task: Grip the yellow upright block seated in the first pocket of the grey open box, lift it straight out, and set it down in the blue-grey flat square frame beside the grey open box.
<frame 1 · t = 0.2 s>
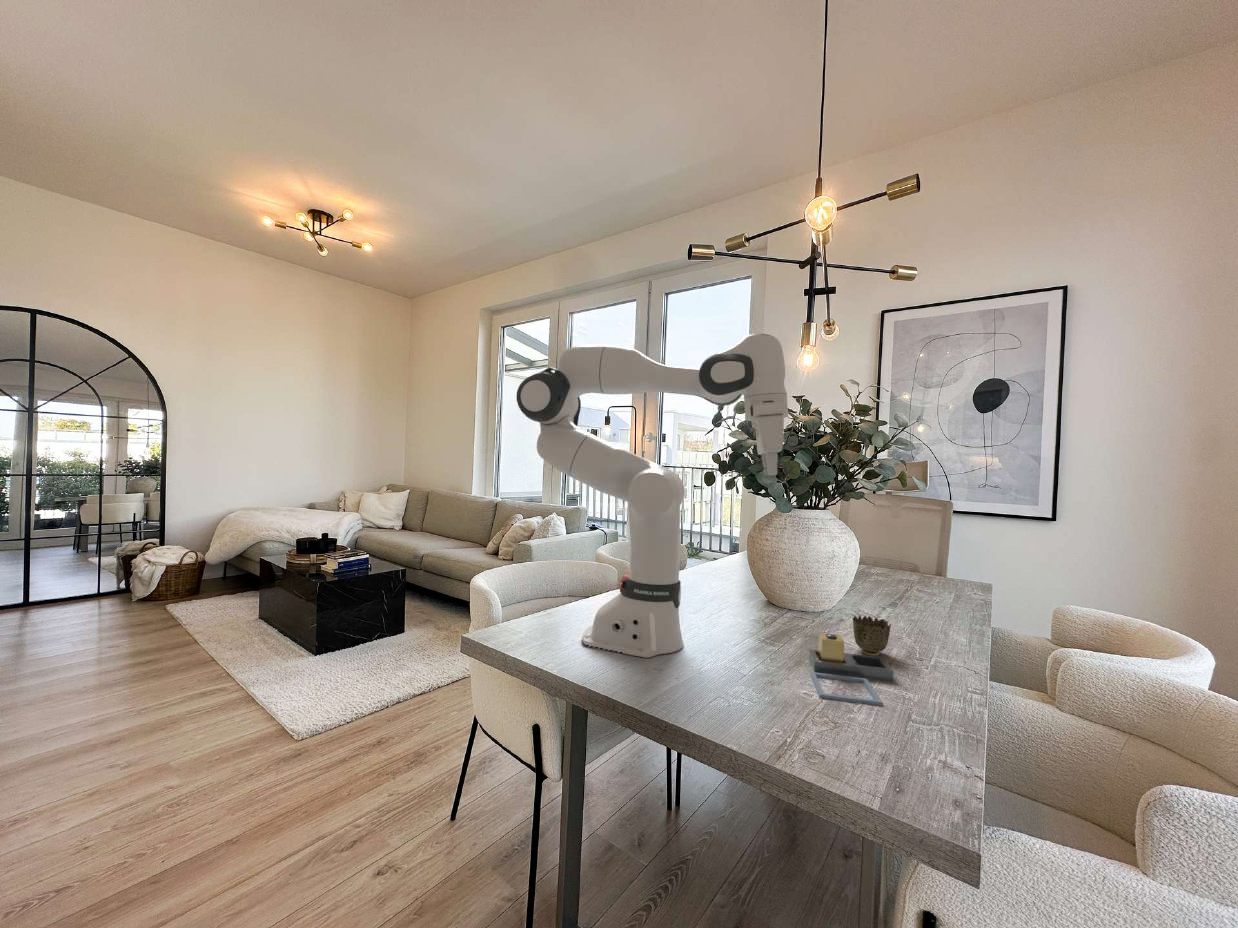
hand: (770, 475, 109), 39 cm above the table, tool pointing down, fingers open, 8 cm apart
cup: (869, 657, 111), on the table
grey open box: (848, 674, 100), on the table
blue-grey flat square frame: (843, 694, 91), on the table
yellow upright block: (829, 667, 101), point 1 cm above the table, touching grey open box
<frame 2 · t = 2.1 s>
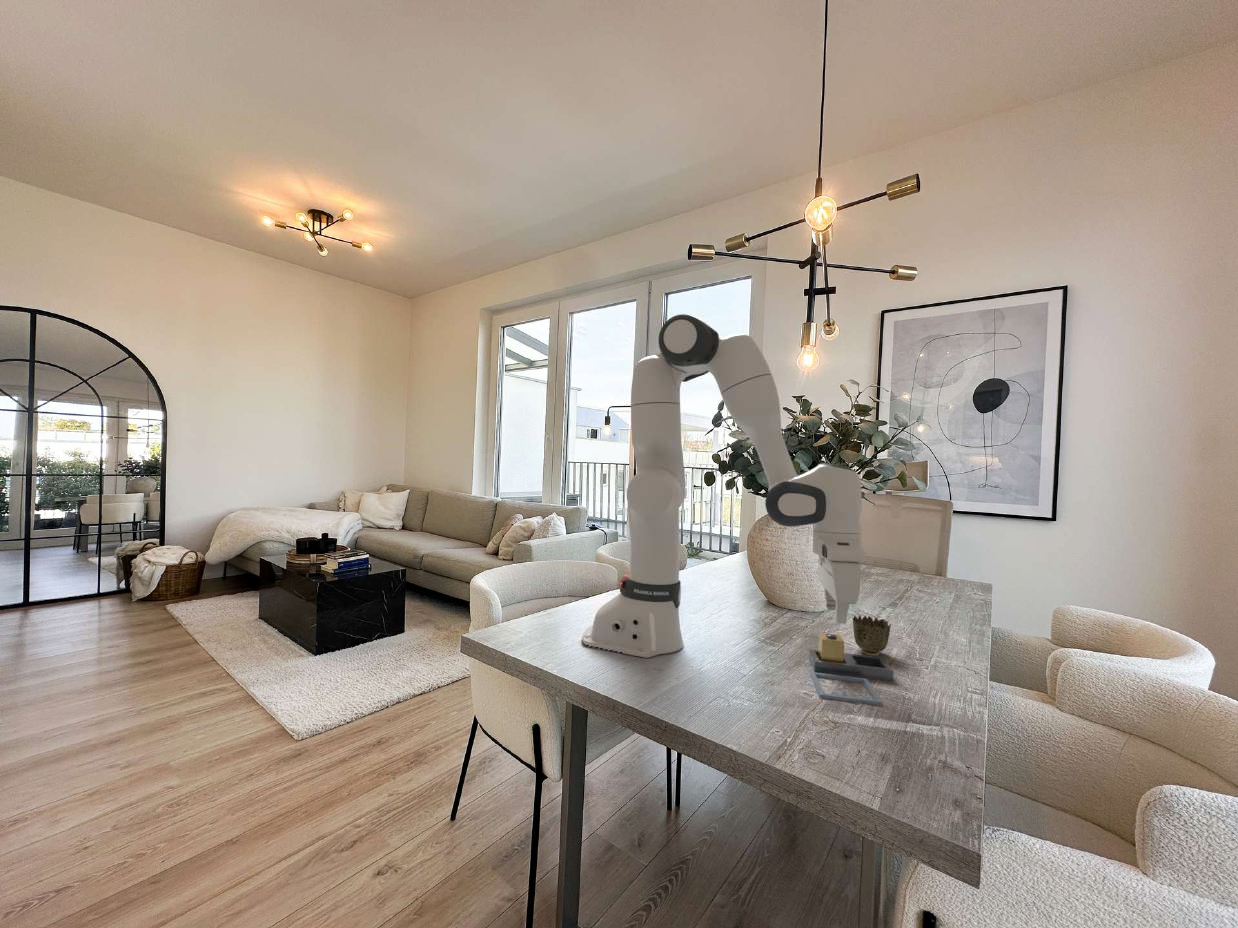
hand: (835, 615, 101), 11 cm above the table, tool pointing down, fingers open, 8 cm apart
nothing on the table moved.
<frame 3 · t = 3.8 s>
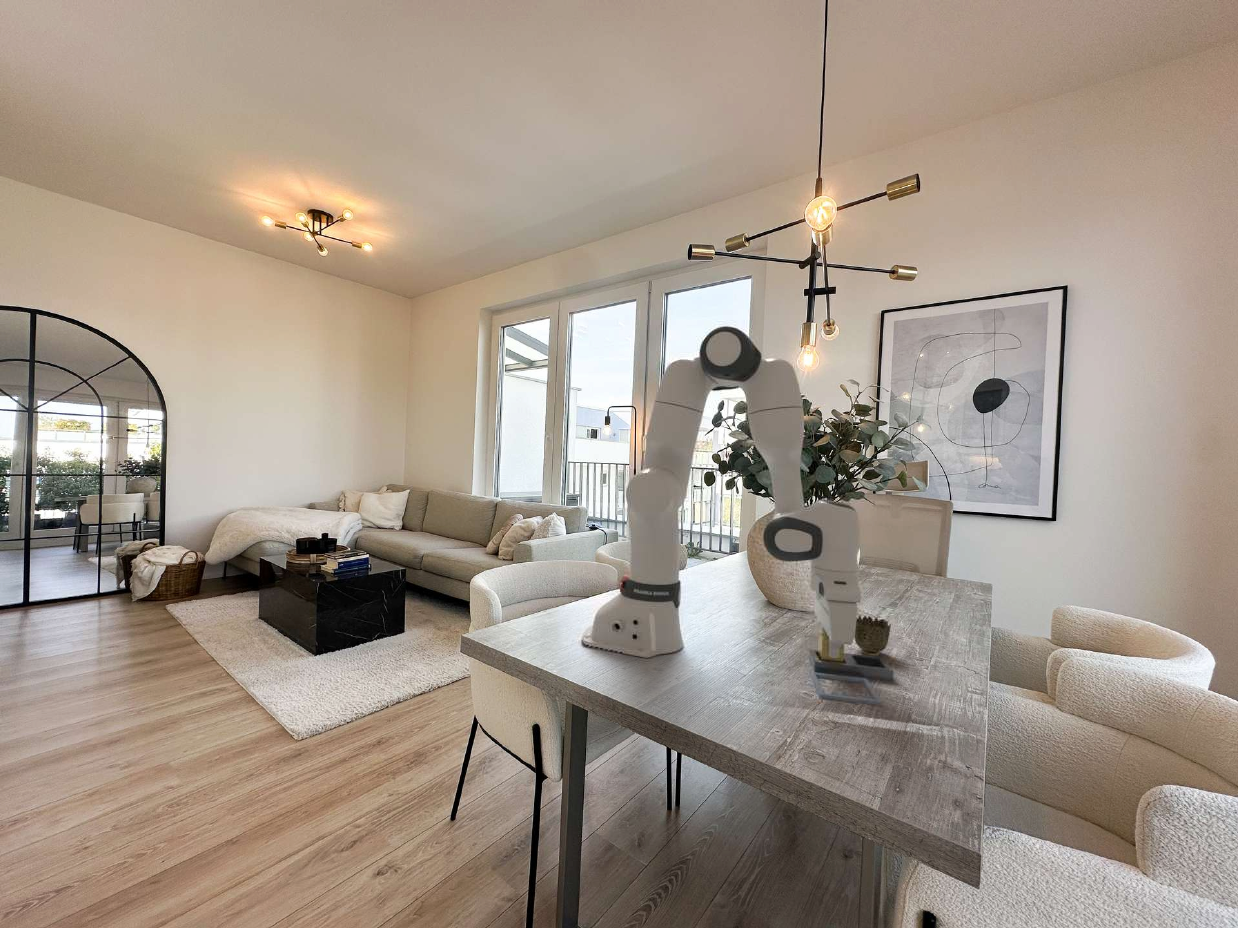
hand: (830, 651, 101), 4 cm above the table, tool pointing down, fingers closed on yellow upright block, 4 cm apart
yellow upright block: (829, 667, 101), point 1 cm above the table, touching gripper, grey open box
everything else where it was.
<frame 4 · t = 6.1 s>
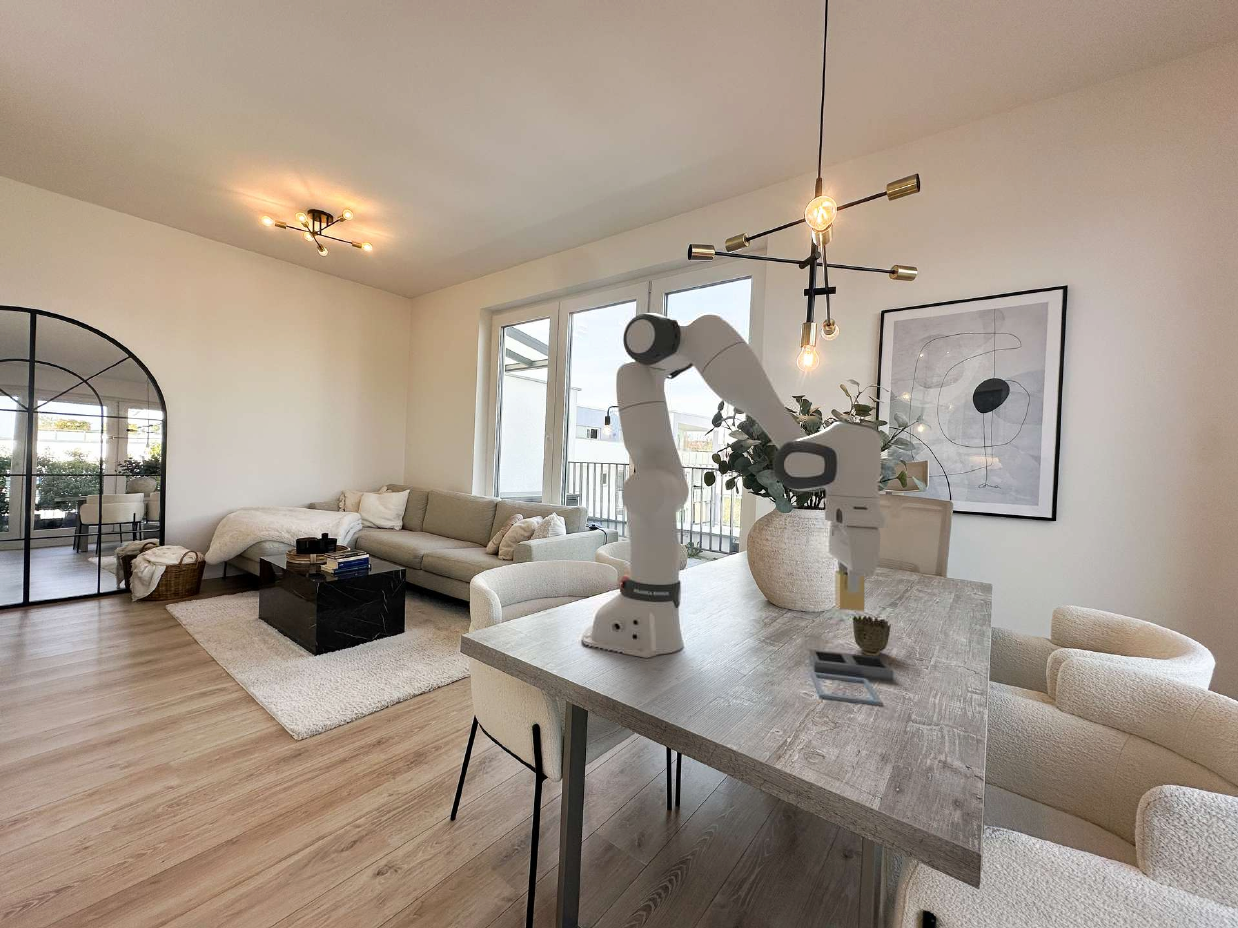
hand: (848, 589, 91), 19 cm above the table, tool pointing down, fingers closed on yellow upright block, 4 cm apart
yellow upright block: (849, 606, 91), point 16 cm above the table, touching gripper
everything else where it was.
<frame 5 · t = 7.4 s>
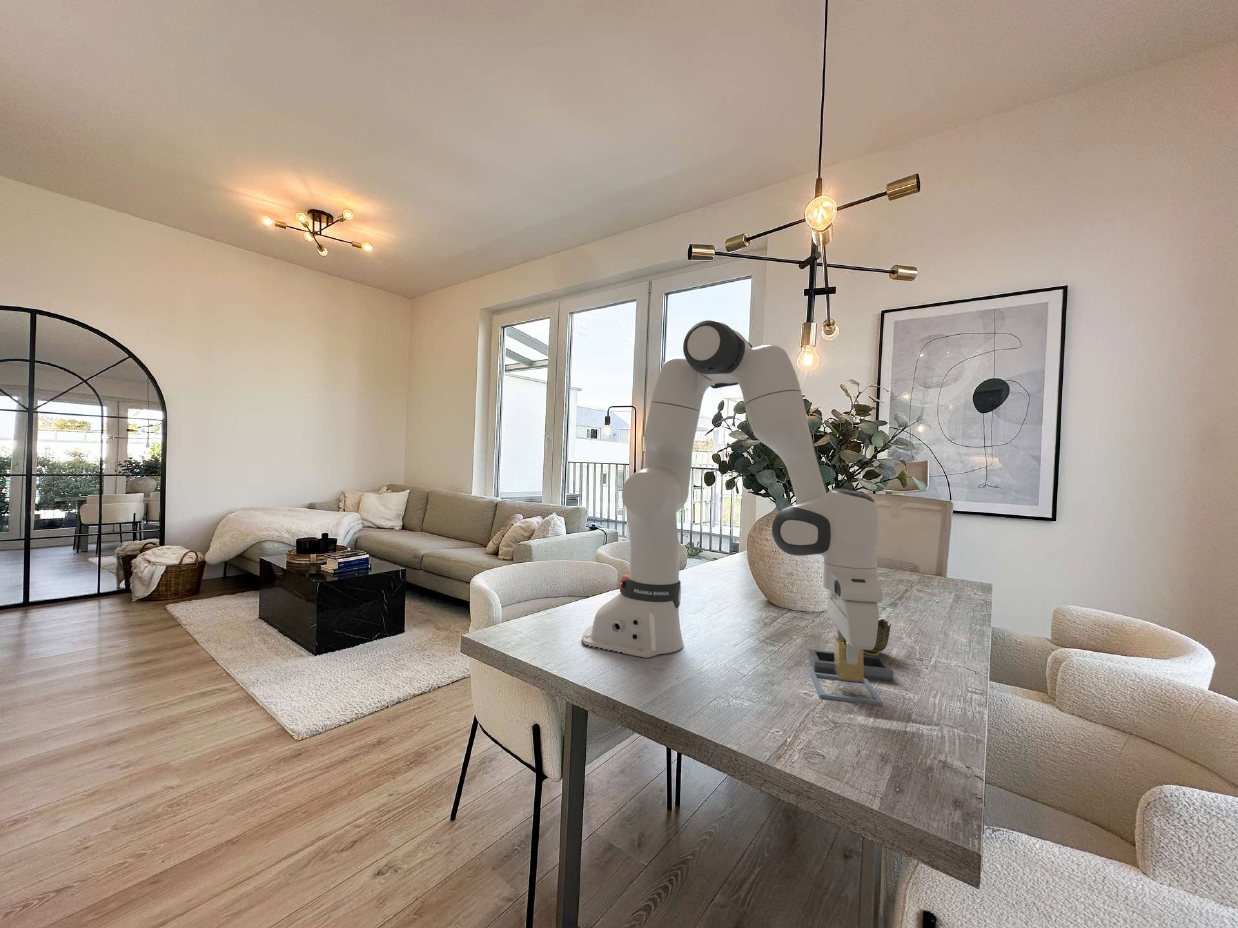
hand: (847, 657, 91), 7 cm above the table, tool pointing down, fingers closed on yellow upright block, 4 cm apart
yellow upright block: (848, 675, 91), point 4 cm above the table, touching gripper
everything else where it was.
when the fingers open (5 cm above the table, at t = 8.3 s): yellow upright block drops 1 cm, resting on blue-grey flat square frame.
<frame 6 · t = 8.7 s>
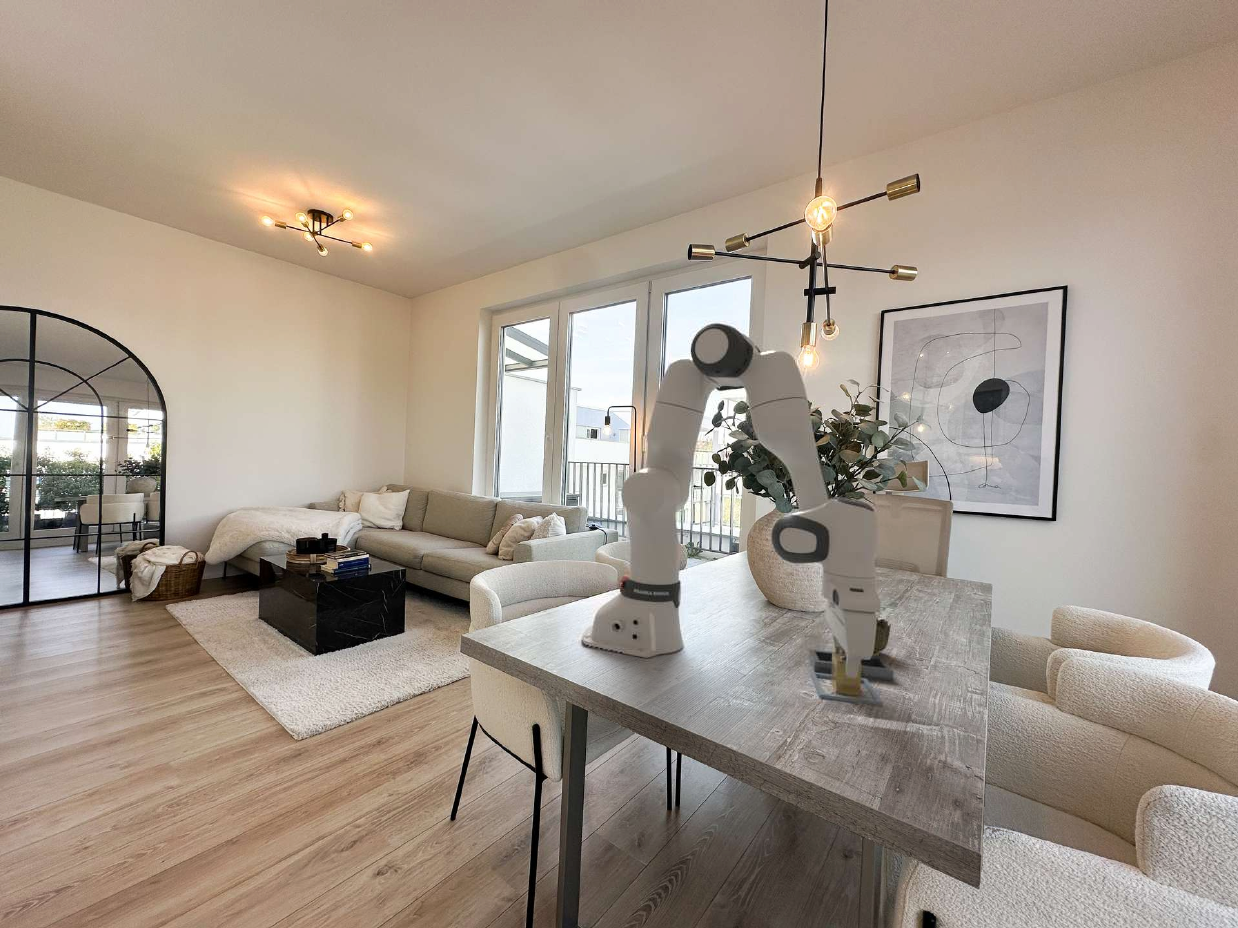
hand: (844, 666, 91), 5 cm above the table, tool pointing down, fingers open, 8 cm apart
yellow upright block: (845, 691, 91), resting on blue-grey flat square frame
everything else where it was.
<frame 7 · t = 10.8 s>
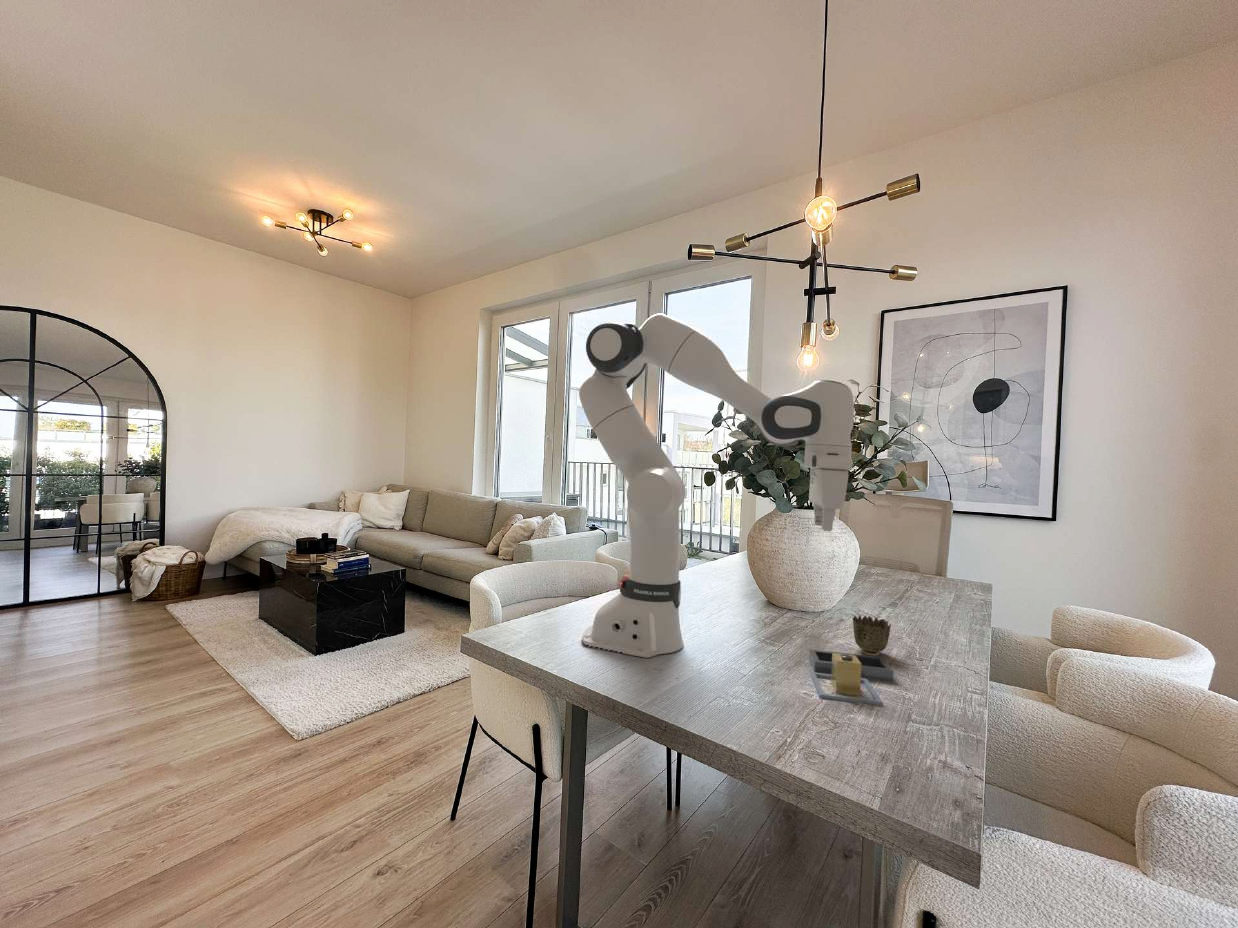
hand: (822, 527, 104), 28 cm above the table, tool pointing down, fingers open, 8 cm apart
nothing on the table moved.
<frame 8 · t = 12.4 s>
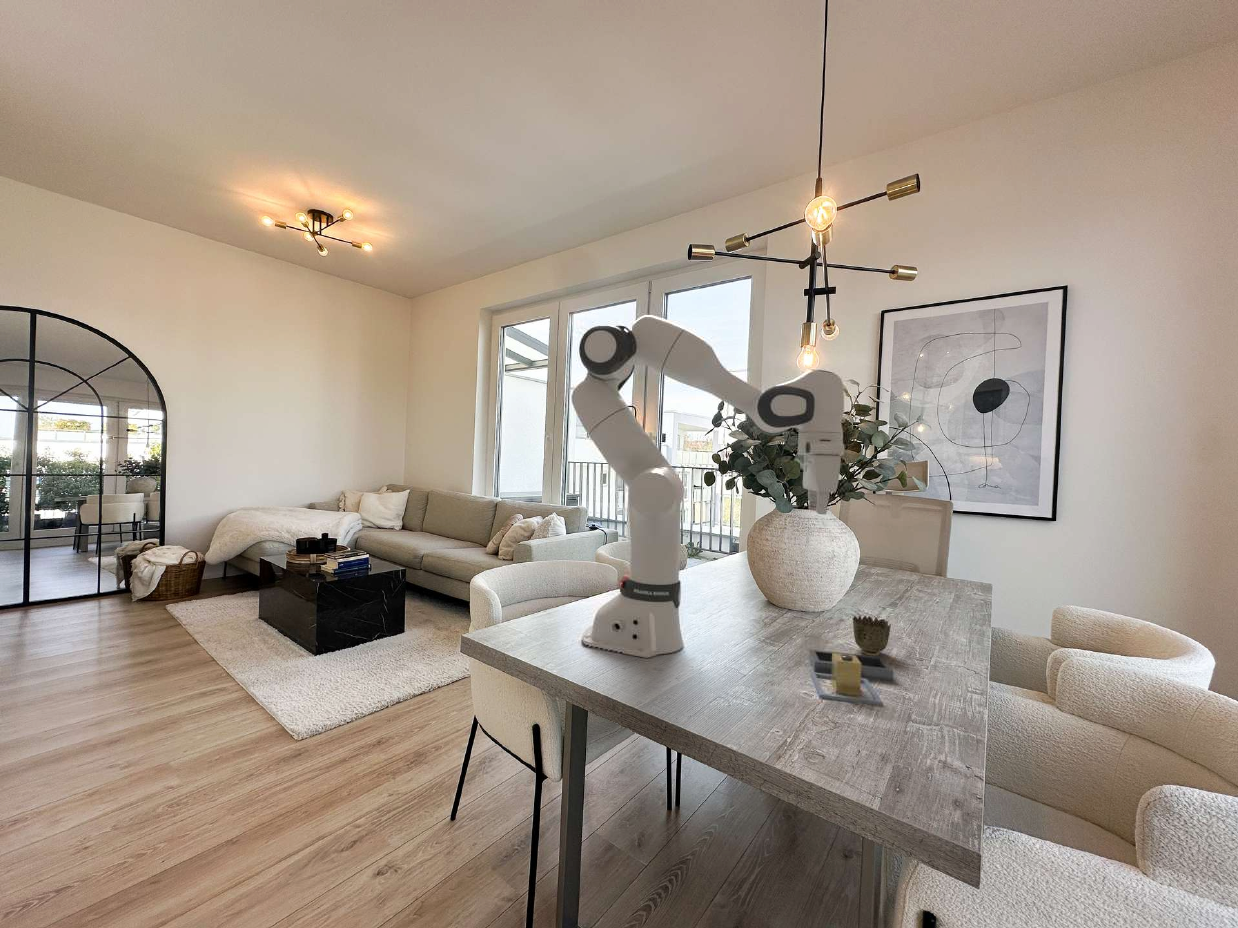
hand: (817, 512, 109), 31 cm above the table, tool pointing down, fingers open, 8 cm apart
nothing on the table moved.
at the end: yellow upright block inside the target area on the blue-grey flat square frame (0.2 cm from its centre), point 0.5 cm above the blue-grey flat square frame's base; yellow upright block touching blue-grey flat square frame; the gripper is holding nothing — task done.
